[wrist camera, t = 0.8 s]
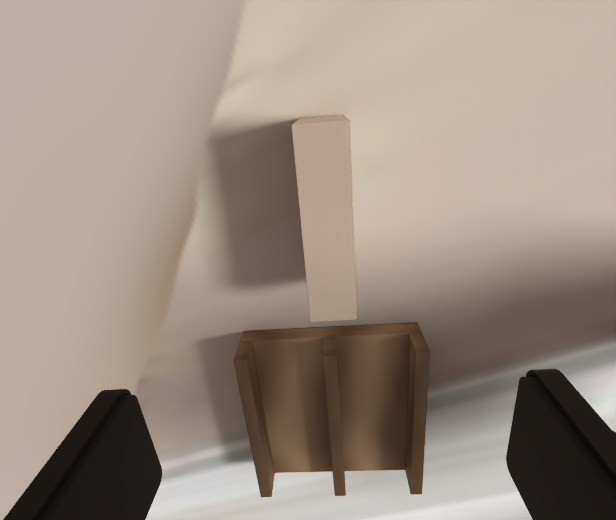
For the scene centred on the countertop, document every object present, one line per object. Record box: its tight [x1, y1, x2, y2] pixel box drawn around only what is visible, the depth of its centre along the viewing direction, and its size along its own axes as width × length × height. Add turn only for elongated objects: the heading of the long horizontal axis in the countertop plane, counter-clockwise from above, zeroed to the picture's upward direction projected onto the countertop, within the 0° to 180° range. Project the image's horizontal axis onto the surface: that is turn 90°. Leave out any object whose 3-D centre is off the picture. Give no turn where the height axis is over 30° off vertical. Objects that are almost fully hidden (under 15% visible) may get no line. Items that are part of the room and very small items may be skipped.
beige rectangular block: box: [292, 115, 357, 322], centre depth 25 cm, size 3×12×7 cm, turn 5°
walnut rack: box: [234, 323, 429, 497], centre depth 34 cm, size 15×16×4 cm
